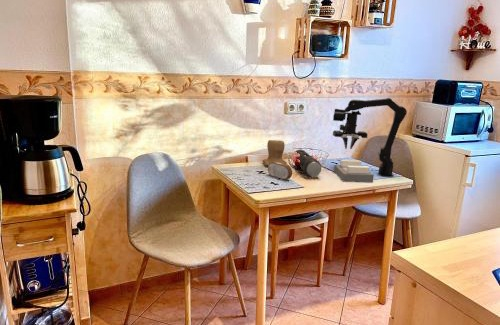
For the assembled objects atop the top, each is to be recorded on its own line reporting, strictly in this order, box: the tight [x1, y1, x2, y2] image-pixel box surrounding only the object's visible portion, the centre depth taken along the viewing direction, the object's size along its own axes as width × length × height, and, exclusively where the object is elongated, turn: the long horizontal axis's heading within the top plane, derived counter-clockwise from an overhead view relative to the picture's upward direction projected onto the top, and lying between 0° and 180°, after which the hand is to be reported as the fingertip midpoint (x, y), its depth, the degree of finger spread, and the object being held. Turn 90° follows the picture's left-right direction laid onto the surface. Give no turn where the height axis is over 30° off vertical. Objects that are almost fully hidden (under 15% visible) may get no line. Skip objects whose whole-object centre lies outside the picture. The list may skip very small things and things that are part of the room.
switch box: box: [333, 164, 375, 183], centre depth 208 cm, size 16×19×4 cm
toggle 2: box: [347, 165, 370, 173], centre depth 200 cm, size 11×3×3 cm, turn 93°
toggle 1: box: [339, 159, 362, 167], centre depth 212 cm, size 11×3×3 cm, turn 93°
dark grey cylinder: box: [294, 149, 322, 178], centre depth 212 cm, size 10×28×10 cm, turn 8°
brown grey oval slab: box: [267, 161, 293, 181], centre depth 199 cm, size 15×3×8 cm, turn 47°
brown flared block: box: [262, 139, 287, 166], centre depth 225 cm, size 15×12×15 cm
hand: (348, 148), depth 217 cm, fingers open, 3 cm apart
